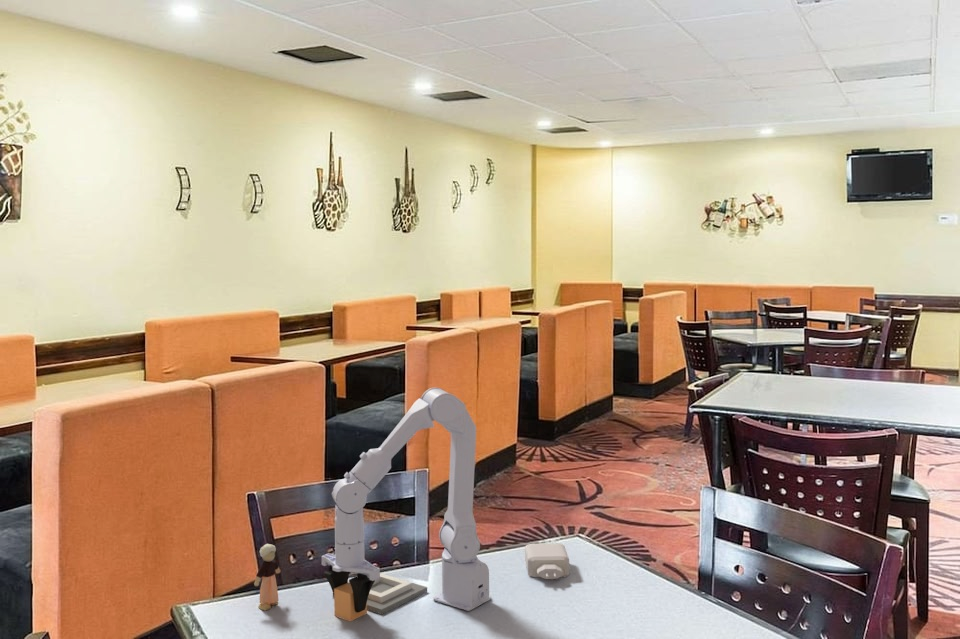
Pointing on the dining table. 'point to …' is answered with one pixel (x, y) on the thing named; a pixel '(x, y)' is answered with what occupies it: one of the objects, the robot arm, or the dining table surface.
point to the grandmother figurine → (267, 577)
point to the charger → (547, 560)
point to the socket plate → (391, 593)
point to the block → (346, 603)
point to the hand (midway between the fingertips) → (350, 607)
